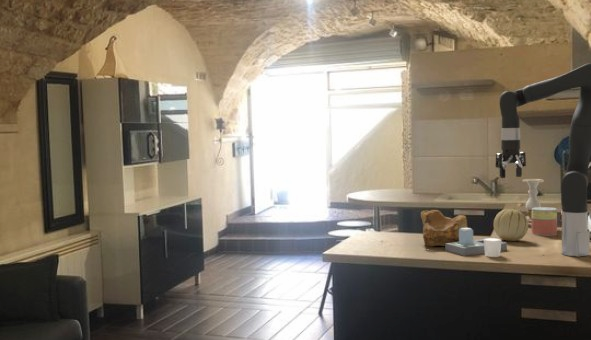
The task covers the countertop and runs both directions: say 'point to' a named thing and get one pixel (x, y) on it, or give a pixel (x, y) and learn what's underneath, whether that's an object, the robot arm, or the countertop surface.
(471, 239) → the light blue cylinder
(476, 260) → the countertop surface
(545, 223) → the canned food
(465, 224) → the rough brown rock
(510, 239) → the cantaloupe
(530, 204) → the candle holder
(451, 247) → the socket panel
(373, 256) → the countertop surface
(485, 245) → the shot glass
